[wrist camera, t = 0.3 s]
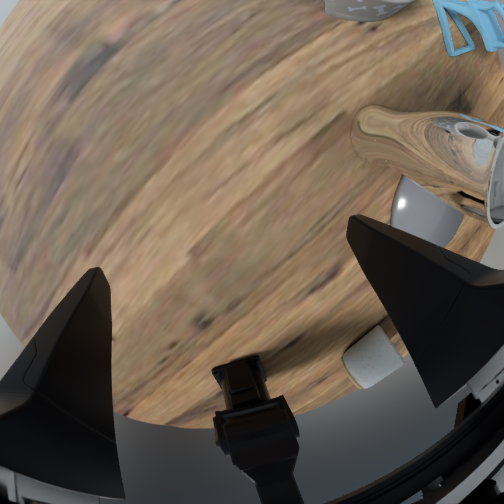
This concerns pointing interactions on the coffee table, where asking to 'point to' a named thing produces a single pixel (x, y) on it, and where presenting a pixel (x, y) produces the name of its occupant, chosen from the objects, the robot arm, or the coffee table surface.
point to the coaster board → (423, 214)
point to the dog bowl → (364, 9)
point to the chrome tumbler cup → (439, 156)
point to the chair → (479, 15)
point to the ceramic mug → (371, 359)
